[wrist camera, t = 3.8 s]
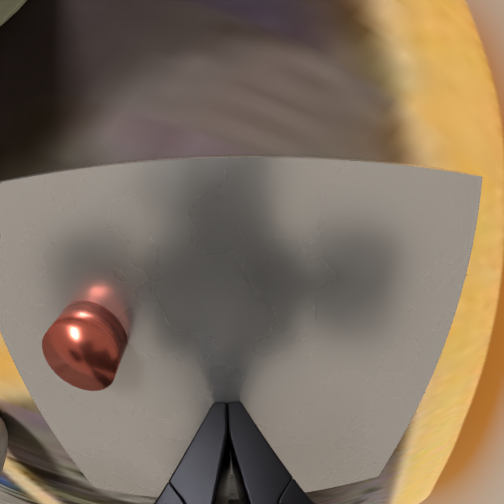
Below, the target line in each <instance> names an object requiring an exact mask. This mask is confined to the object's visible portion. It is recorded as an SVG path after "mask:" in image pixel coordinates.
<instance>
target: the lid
mask: <svg viewBox="0 0 504 504" xmlns="http://www.w3.org/2000/svg"><path fill="white" fill-rule="evenodd" d="M481 186H482V177H481V176H477V175H473V174H469V173H465V172H460V171H454V170H448V169H441V168H434V167H427V166H419V165H411V164H402V163H393V162H383V161H373V160H360V159H347V158H330V157H309V156H267V155H244V156H202V157H181V158H164V159H151V160H139V161H128V162H118V163H109V164H100V165H92V166H84V167H77V168H70V169H63V170H57V171H50V172H44V173H39V174H33V175H27V176H22V177H17V178H12V179H7V180H3V181H0V331H1V334H2V336H3V338H4V341H5V343H6V346H7V348H8V350H9V352H10V355H11V357H12V359H13V361H14V363H15V365H16V368H17V370H18V372H19V374H20V376H21V378H22V380H23V382H24V383H25V385H26V387H27V389H28V391H29V393H30V395H31V396H32V398H33V400H34V402H35V404H36V405H37V407H38V409H39V410H40V412H41V414H42V415H43V417H44V419H45V420H46V422H47V424H48V425H49V427H50V428H51V430H52V431H53V433H54V434H55V436H56V437H57V439H58V440H59V442H60V443H61V445H62V446H63V447H64V449H65V450H66V452H67V453H68V454H69V456H70V457H71V459H72V460H73V461H74V463H75V464H76V465H77V466H78V468H79V469H80V470H81V472H82V473H83V474H84V475H85V477H86V478H87V479H88V480H89V481H90V483H91V484H92V485H93V486H94V487H95V488H99V489H105V490H110V491H115V492H121V493H128V494H135V495H143V496H151V497H159V495H160V494H161V492H162V490H163V489H164V487H165V485H166V484H167V483H169V482H168V481H169V479H170V477H171V476H172V474H173V472H174V470H175V469H176V467H177V465H178V464H179V462H180V460H181V458H182V457H183V455H184V453H185V452H186V450H187V448H188V446H189V445H190V443H191V441H192V439H193V438H194V436H195V434H196V432H197V431H198V429H199V427H200V425H201V423H202V422H203V420H204V418H205V416H206V415H207V413H208V411H209V409H210V407H211V406H212V404H213V403H214V402H226V403H228V402H238V401H239V402H241V403H242V404H243V405H244V407H245V408H246V410H247V412H248V413H249V415H250V416H251V418H252V419H253V421H254V422H255V424H256V425H257V427H258V428H259V430H260V431H261V433H262V434H263V436H264V437H265V439H266V440H267V442H268V443H269V444H270V446H271V447H272V449H273V450H274V452H275V453H276V454H277V456H278V457H279V459H280V460H281V461H282V463H283V464H284V466H285V467H286V468H287V470H288V471H289V473H290V474H291V475H292V477H293V479H295V480H296V482H297V483H298V484H299V486H300V487H301V488H302V490H303V491H304V492H311V491H317V490H322V489H327V488H332V487H337V486H342V485H346V484H350V483H354V482H358V481H362V480H366V479H370V478H373V477H377V476H379V474H380V473H381V471H382V469H383V468H384V466H385V465H386V463H387V462H388V460H389V458H390V457H391V455H392V453H393V452H394V450H395V448H396V447H397V445H398V443H399V441H400V440H401V438H402V436H403V434H404V432H405V431H406V429H407V427H408V425H409V423H410V421H411V419H412V417H413V415H414V413H415V411H416V409H417V407H418V405H419V403H420V401H421V399H422V397H423V395H424V393H425V391H426V388H427V386H428V384H429V382H430V379H431V377H432V375H433V372H434V370H435V367H436V365H437V363H438V360H439V357H440V355H441V352H442V350H443V347H444V344H445V342H446V339H447V336H448V333H449V330H450V327H451V324H452V321H453V318H454V315H455V312H456V309H457V305H458V302H459V298H460V295H461V291H462V288H463V284H464V280H465V276H466V272H467V268H468V264H469V259H470V255H471V250H472V245H473V240H474V235H475V229H476V223H477V217H478V210H479V203H480V195H481ZM230 455H231V454H230ZM228 504H240V501H239V497H238V492H237V488H236V484H235V479H234V475H233V470H232V464H231V474H230V486H229V498H228Z"/></svg>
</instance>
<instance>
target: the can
mask: <svg viewBox="0 0 504 504" xmlns="http://www.w3.org/2000/svg"><path fill="white" fill-rule="evenodd" d="M26 1H27V0H0V26H1V25H3V24H4V23H5V22H6V21H7V20H8V19H10V18H11V17H12V16H13V15H14V14H15V13H16V12H17V11H18V10H19V9H20V8H21V7H22V6H23V5H24V4H25V3H26Z"/></svg>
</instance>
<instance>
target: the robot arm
mask: <svg viewBox="0 0 504 504" xmlns="http://www.w3.org/2000/svg"><path fill="white" fill-rule="evenodd" d="M230 454H231V455H230ZM231 464H232V470H233V475H234V479H235V484H236V488H237V492H238V497H239V501H240V504H315V503H314V502H313V501H312V500H311V499H310V498H309V497H308V496H307V494H306V493H305V492H304V491H303V490H302V488H301V487H300V486H299V484H298V483H297V482H296V480H295V479H293V477H292V475H291V474H290V473H289V471H288V470H287V468H286V467H285V466H284V464H283V463H282V461H281V460H280V459H279V457H278V456H277V454H276V453H275V452H274V450H273V449H272V447H271V446H270V444H269V443H268V442H267V440H266V439H265V437H264V436H263V434H262V433H261V431H260V430H259V428H258V427H257V425H256V424H255V422H254V421H253V419H252V418H251V416H250V415H249V413H248V412H247V410H246V408H245V407H244V405H243V404H242V403H241V402H239V401H238V402H228V403H226V402H214V403H213V404H212V406H211V407H210V409H209V411H208V413H207V415H206V416H205V418H204V420H203V422H202V423H201V425H200V427H199V429H198V431H197V432H196V434H195V436H194V438H193V439H192V441H191V443H190V445H189V446H188V448H187V450H186V452H185V453H184V455H183V457H182V458H181V460H180V462H179V464H178V465H177V467H176V469H175V470H174V472H173V474H172V476H171V477H170V479H169V481H168V482H169V483H167V484H166V485H165V487H164V489H163V490H162V492H161V494H160V495H159V497H158V498H157V500H156V501H155V503H154V504H228V498H229V486H230V474H231Z"/></svg>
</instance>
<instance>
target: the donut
mask: <svg viewBox="0 0 504 504" xmlns="http://www.w3.org/2000/svg"><path fill="white" fill-rule="evenodd" d="M7 447H8V432H7V429H6V426H5V423H4V421H3V420H2V418H1V417H0V476H1V473H2V470H3V466H4V463H5V458H6V454H7Z"/></svg>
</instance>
